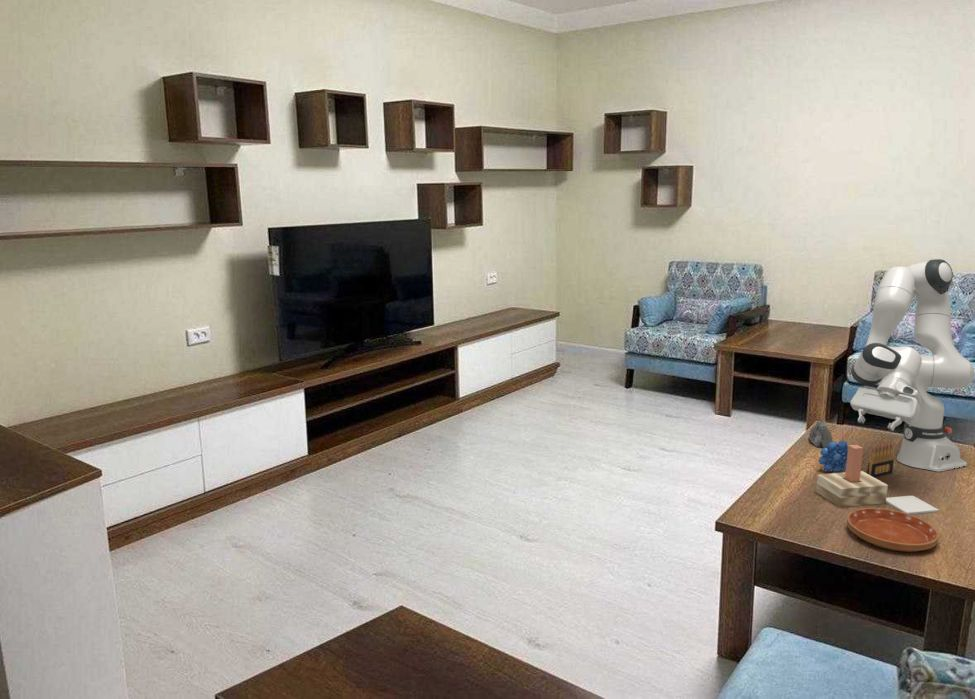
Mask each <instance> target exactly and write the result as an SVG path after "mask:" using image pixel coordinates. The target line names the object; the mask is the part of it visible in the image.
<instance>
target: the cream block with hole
mask: <svg viewBox="0 0 975 699" xmlns="http://www.w3.org/2000/svg"><path fill="white" fill-rule="evenodd" d="M845 473H846V471H845V472H841V473H834V472H832V473H822V474H817V478H816V479H817V480H816V489H815V493H817V494H818V495H819V496H821V497H823V498H824V499H826V500H828V501H829V502H831V503H832V504H833V505H835V506H837V507H838V508H845V507H846V508H847V507H858V506H861V507H862V506H869V505H881V504H887V503H886V498H888V496H887V495H888V487H889V485H888V484H887V483H885V482H882V480H879V479H877V477H876V478H874V477H872V476H870V475H869V474H867V472H864V471H863V470H861V473H860V482H854V483H850V482H848V481H847V480H845Z"/></svg>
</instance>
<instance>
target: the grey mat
mask: <svg viewBox="0 0 975 699" xmlns="http://www.w3.org/2000/svg"><path fill="white" fill-rule="evenodd" d="M885 504H887V505H889V506H891V507H893V508H895V509H896V510H897V511H899V512H903V513H906V514H910V515H917V514H918V515H919V514H930V513H939V511H940V510H939V509H938V508H936V507H934V506H933V505H931V504H930V503H927V502H925V501H924V500H921V499H920V498H918V497H917V496H914V495H903V496H892V497H889V496H888V497H886V503H885Z"/></svg>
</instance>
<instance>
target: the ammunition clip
mask: <svg viewBox="0 0 975 699" xmlns="http://www.w3.org/2000/svg"><path fill="white" fill-rule="evenodd" d="M894 445H895V444H894V440H893V439H891V440H890V441H889V440H887V442H886V441H884V442H880V443H879V442H877V443H873V445H872V447H871V454H870V456H869V462H868V465H867V470H866V473H867V474H869V475H870V476H872V477H874V478H876V479H877V478H880V477H885V476H888V475H892V474H893V470H894V461H895V460H894Z"/></svg>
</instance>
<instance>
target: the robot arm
mask: <svg viewBox="0 0 975 699" xmlns="http://www.w3.org/2000/svg"><path fill="white" fill-rule="evenodd" d="M953 278H954V273H953V268H952V267H951V265H950V264H949V262H947V261H946V260H945V259H940V258H938V259H937V258H935V259H930V260H928V261H921V262H916V263H913V264H910V265H908V266H903V265H902V266H901V265H899V266H898V265H897V266H893V267H891V268H889V269H888V270H887V271H886V272H885V273H884V275H883V277H882V279H881V281H880V283H879V286H878V288H877V291H876V294H875V297H874V298H875V299H874V303H873V309H872V310H873V312H872V318H871V324H870V329H869V333H868V337H867V339H866V341H865V342H866V343H865V346H864V347H863V349H862V351H861V353H860V354H859V356H858V358H857V360H856V361H855V362H854V364H853V365H852V366H851V369H850V371H851V372H850V373H851V376H852V378H853V380H855V381H856V382H857V383H859V384H860V385H862V386H860V387H858V388H857V390H856V393H855V394H854V395H853V397H852V398H851V400H850V402H849V403H850V404H849V405H850V407H851V408H852V409H853V410H854V411H856V412H858V418H857V422H858V423H859V424H864V423H865V421H866V418H865V416H864V415H865V414H870V415H875V416H880V417H882V418H883V417H884V418H887V419H893V420H894V421H892V422H889V423H888V425H887V426H886V427H887V430H888V431H892V432H893V431H895V428H896V427H898V426H900V425H901V424H902V423H903V422H904V425H903V438H902V441H901V446H900V449H899V451H898V454H897V455H896V457H895V458H896V461H898V462H899V463H901V464H903V465H906V466H908V467H912V468H917V469H923V470H930V471H932V472H944V471H945V472H946V471H949V470H954V468H955V469H960V468H964V467H963V466H965V467H967V466H968V463H967V462H966V461H965V460H964V459H962V458H961V451H960V448H959V446H958V445H957V444H955V443H954V442H953V441H952V440H951V439H949V438H948V437H947V436H946V433H947V434H949V435H950V434H952V432H953V429H952V428H951V427H949V426H945V427H944V425H943V423H944V422H943V421H944V416H945V406H944V403H943V402H942V401H941V400H940V399H938V398H937V397H935V396H933V395H931V394H930V393H928V392H927V388H937V389H938V388H941V389H963V388H964V389H965V388H967V387H968V386H969V385H971V384H972V382H973V381H974V378H975V368H974V366H973V364H972V363H971V361H969V360H968V359H967V358H965V357H964V356H963V355H962V354H961V353H960V352H959V351H958V350H957V348H956V346H955V344H954V341H953V338H952V309H951V308H952V307H951V300H950V297H949V294H948V291H949V289H950V285H951V284H952V281H953ZM913 297H916V300H917V302H916V307H915V313H914V331H913V333H914V334H913V336H914V340H915V341H916V342H917V343H918V345H920V346H922V347H925V348H926V349H928V350H929V351H930V353H931V355H929V354H920V352H918V351H917V350H916V349H915V348H913V347H911V346H906V345H903V346H896V347H895V346H889V345H888V342H889V339H890V337H891V335H892V334H893V332H894V330H895V329H896V328H897V327H898V326H899V325H900V323H901V321H903V318H904V317H905V316H906V314H907V313H908V310H909V309H910V306H911V303H912V301H913ZM877 385H878V386H877ZM874 386H875V387H874ZM876 386H877V387H876ZM959 467H960V468H959Z"/></svg>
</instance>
